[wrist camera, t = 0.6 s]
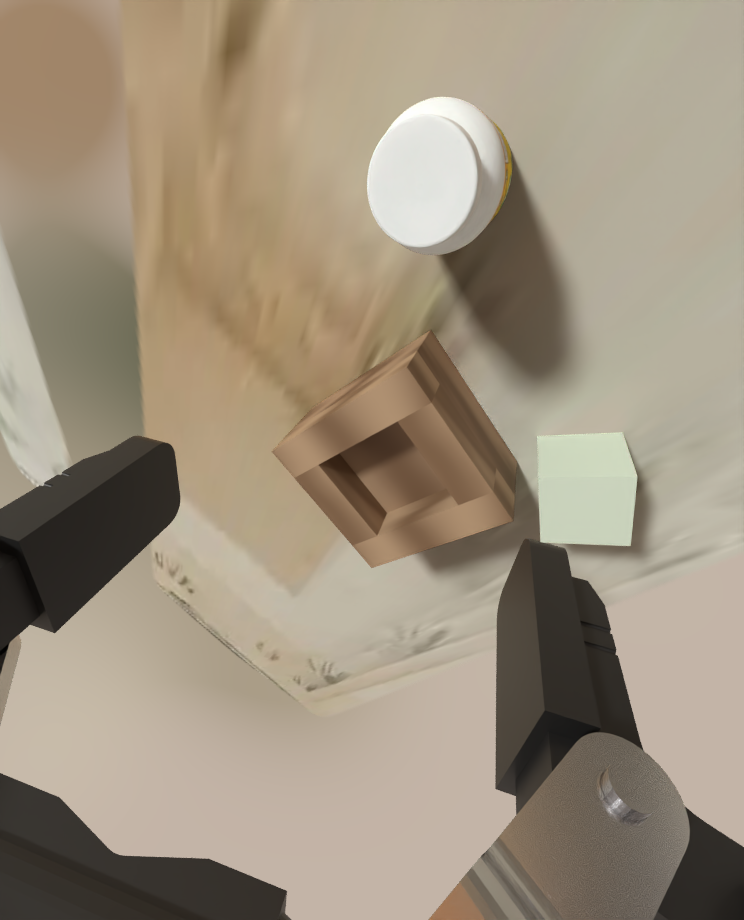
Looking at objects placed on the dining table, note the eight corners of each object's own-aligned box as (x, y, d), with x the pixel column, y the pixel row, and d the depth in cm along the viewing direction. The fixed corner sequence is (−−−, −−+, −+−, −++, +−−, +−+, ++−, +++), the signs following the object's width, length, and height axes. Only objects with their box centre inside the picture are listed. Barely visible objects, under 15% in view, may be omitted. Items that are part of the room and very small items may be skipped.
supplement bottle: (475, 84, 21) (441, 34, 13) (533, 187, 22) (532, 198, 14) (389, 171, 24) (320, 172, 16) (445, 257, 25) (406, 296, 17)
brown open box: (430, 329, 27) (406, 367, 22) (516, 461, 31) (513, 521, 25) (312, 407, 33) (271, 451, 28) (394, 511, 36) (371, 567, 31)
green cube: (622, 431, 27) (637, 476, 23) (617, 495, 30) (630, 546, 26) (537, 435, 29) (537, 477, 25) (539, 495, 32) (540, 542, 28)
